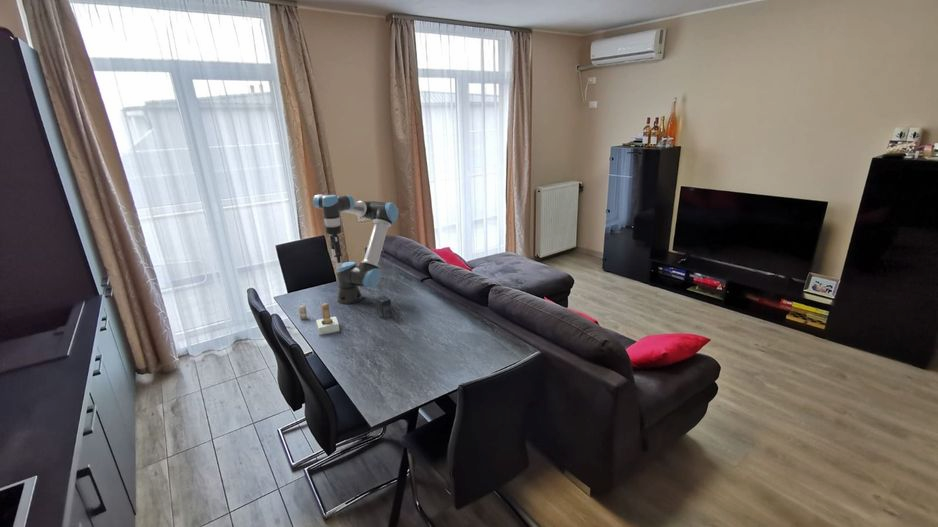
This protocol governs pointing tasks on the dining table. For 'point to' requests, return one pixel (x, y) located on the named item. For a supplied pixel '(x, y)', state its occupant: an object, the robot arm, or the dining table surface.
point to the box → (383, 307)
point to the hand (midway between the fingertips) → (337, 264)
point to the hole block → (327, 326)
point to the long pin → (326, 313)
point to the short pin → (302, 312)
